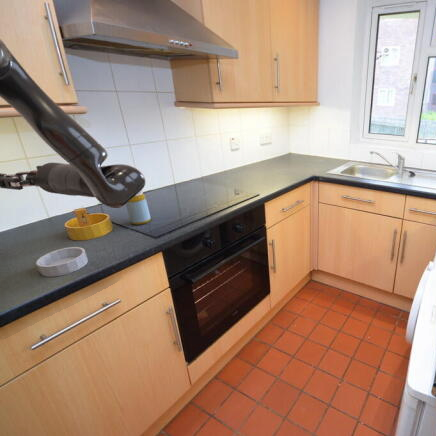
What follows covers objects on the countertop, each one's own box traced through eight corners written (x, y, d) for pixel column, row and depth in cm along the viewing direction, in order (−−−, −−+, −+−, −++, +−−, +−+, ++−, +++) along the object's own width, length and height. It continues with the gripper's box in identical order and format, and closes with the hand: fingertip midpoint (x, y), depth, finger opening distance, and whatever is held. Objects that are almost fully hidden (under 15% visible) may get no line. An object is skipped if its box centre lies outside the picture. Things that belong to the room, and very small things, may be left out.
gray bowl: (65, 278, 85) (61, 267, 83) (30, 275, 86) (25, 265, 84) (97, 257, 95) (93, 248, 94) (65, 255, 96) (61, 246, 95)
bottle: (143, 217, 125) (134, 183, 119) (154, 220, 122) (146, 185, 116) (127, 223, 119) (117, 187, 113) (138, 226, 116) (128, 190, 110)
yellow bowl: (93, 241, 105) (89, 228, 103) (59, 239, 106) (54, 226, 104) (121, 225, 117) (117, 214, 115) (90, 224, 118) (86, 212, 116)
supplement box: (93, 231, 111) (85, 206, 107) (94, 234, 109) (86, 209, 105) (82, 234, 109) (73, 208, 105) (83, 237, 107) (74, 211, 103)
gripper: (90, 158, 77) (45, 153, 81) (26, 171, 64) (-24, 165, 68) (99, 185, 80) (54, 180, 84) (39, 203, 67) (-10, 196, 71)
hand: (19, 173), depth 76 cm, fingers open, 8 cm apart
